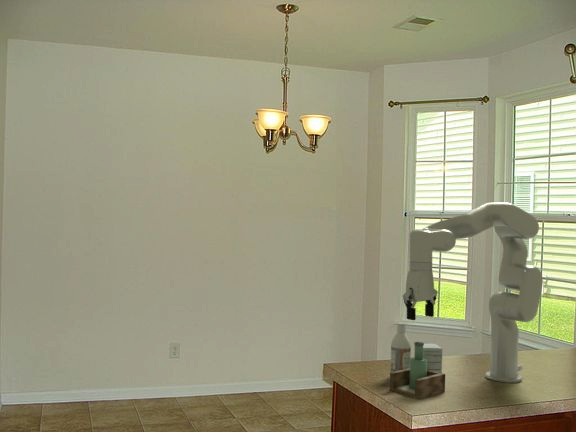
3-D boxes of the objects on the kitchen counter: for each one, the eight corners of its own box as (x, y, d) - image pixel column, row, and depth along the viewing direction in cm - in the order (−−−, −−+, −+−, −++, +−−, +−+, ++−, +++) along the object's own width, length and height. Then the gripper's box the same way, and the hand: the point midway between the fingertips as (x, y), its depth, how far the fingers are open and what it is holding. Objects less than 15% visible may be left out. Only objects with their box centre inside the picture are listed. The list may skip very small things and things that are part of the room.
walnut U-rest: (416, 383, 213) (416, 366, 213) (444, 392, 204) (445, 374, 204) (389, 390, 204) (390, 372, 204) (418, 399, 195) (419, 380, 195)
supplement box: (415, 378, 221) (416, 343, 221) (435, 378, 222) (436, 343, 222) (421, 383, 214) (422, 347, 214) (442, 383, 214) (443, 347, 214)
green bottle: (416, 384, 208) (417, 340, 208) (429, 388, 204) (431, 343, 204) (405, 386, 205) (407, 342, 205) (419, 390, 200) (420, 345, 200)
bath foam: (399, 381, 215) (401, 325, 215) (386, 377, 221) (387, 322, 221) (413, 379, 219) (415, 323, 219) (400, 375, 225) (401, 320, 225)
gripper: (427, 264, 213) (427, 313, 213) (395, 267, 202) (394, 319, 202) (445, 266, 207) (445, 316, 207) (413, 269, 196) (412, 322, 196)
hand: (420, 317), depth 204 cm, fingers open, 9 cm apart
